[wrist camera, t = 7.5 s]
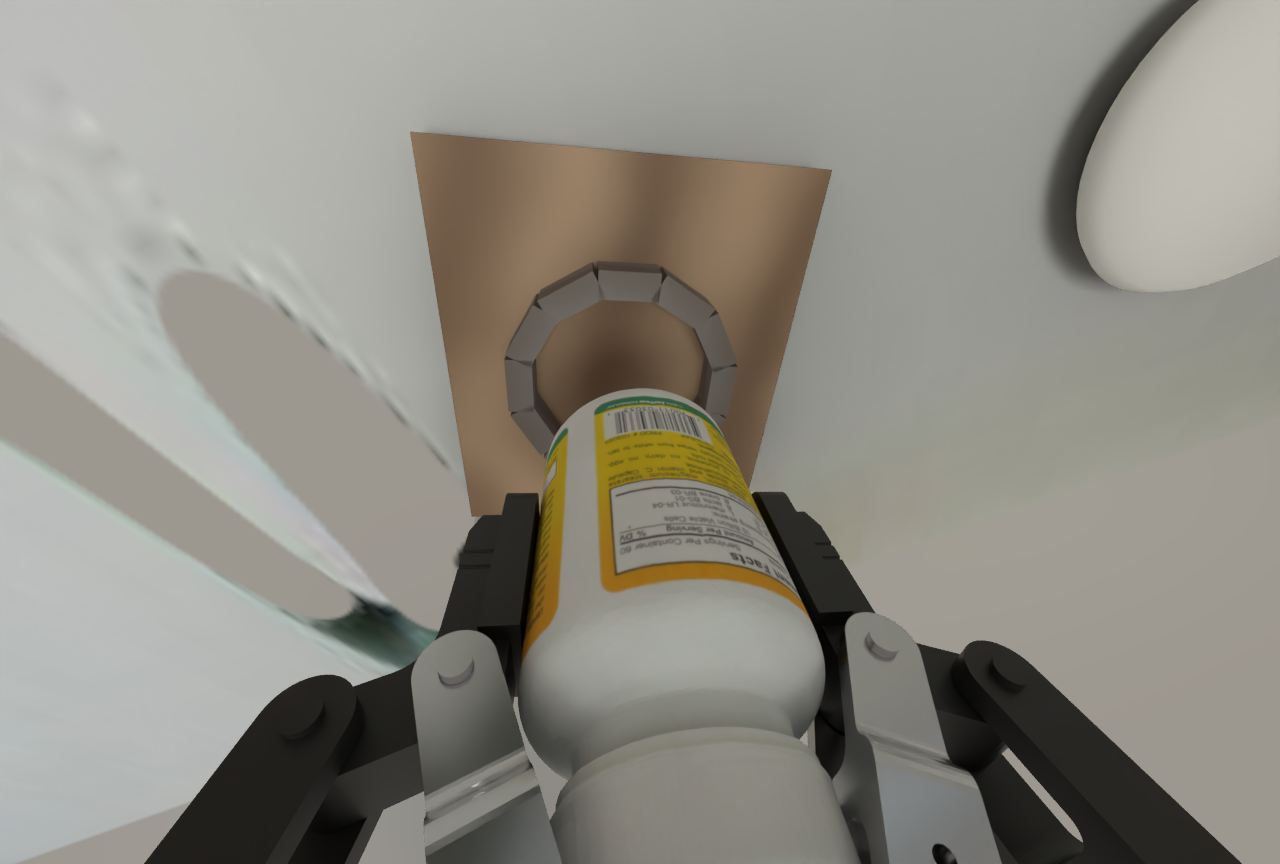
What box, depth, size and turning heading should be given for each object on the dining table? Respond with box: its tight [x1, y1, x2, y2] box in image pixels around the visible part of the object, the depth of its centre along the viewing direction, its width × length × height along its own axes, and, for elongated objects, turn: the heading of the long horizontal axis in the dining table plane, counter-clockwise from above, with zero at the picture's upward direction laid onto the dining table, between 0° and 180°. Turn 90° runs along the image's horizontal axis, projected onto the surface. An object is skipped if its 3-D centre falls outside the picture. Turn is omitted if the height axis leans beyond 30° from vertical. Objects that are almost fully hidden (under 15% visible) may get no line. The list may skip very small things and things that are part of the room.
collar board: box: [410, 132, 832, 516], centre depth 19 cm, size 14×16×3 cm
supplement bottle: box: [518, 388, 861, 864], centre depth 10 cm, size 5×5×10 cm
